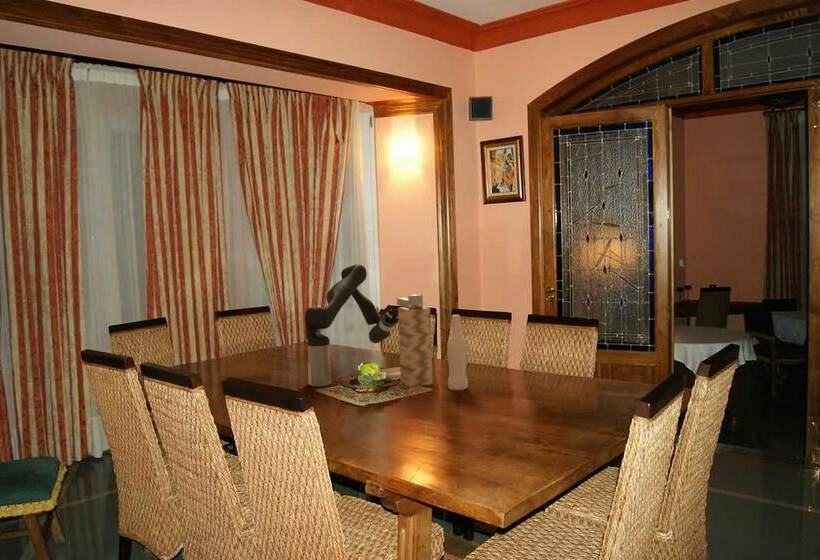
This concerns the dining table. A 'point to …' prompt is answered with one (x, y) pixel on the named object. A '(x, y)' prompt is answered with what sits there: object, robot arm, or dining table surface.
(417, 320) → the brown wavy-grained wooden cylinder
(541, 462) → the dining table surface
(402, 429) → the dining table surface
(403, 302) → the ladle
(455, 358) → the bottle
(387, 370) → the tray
